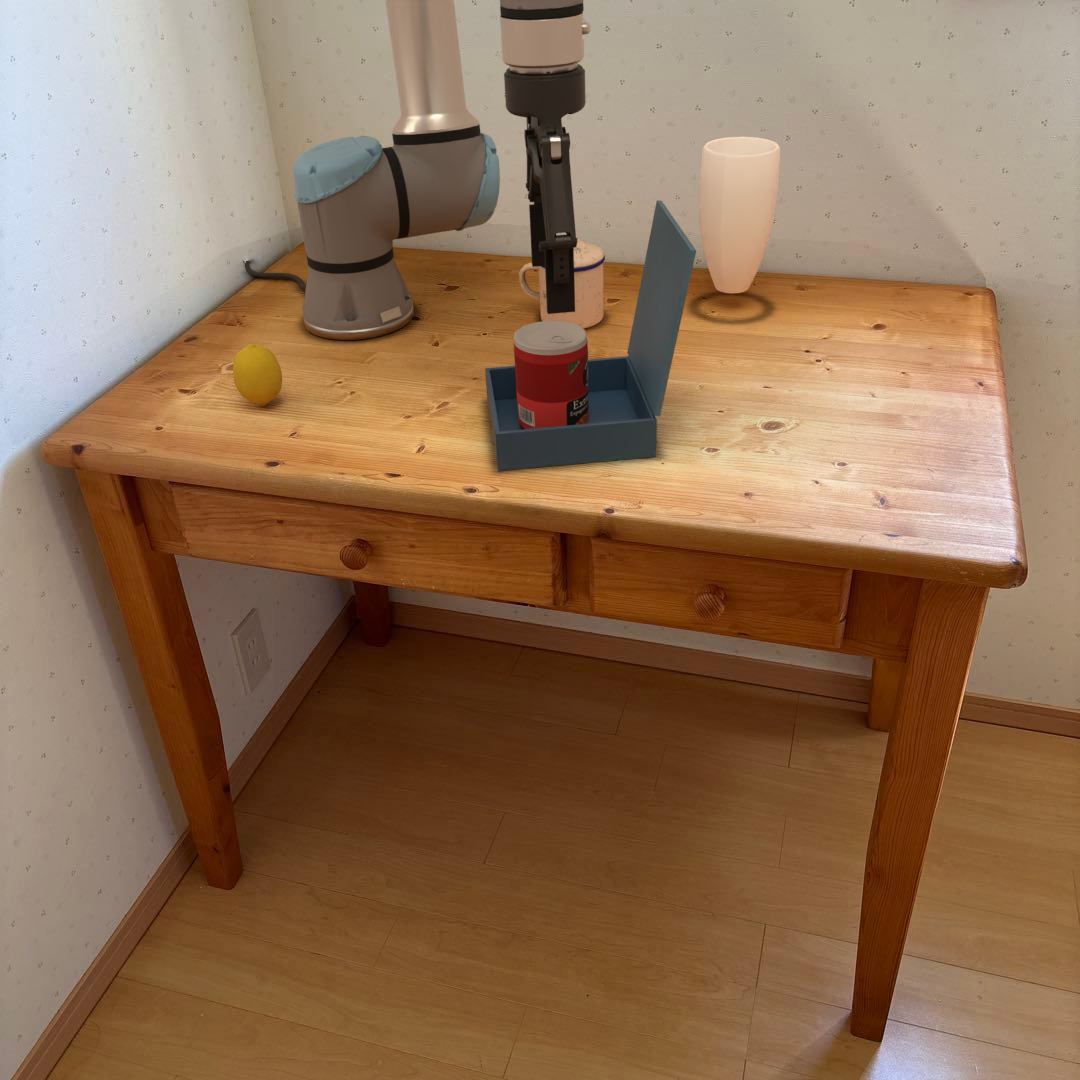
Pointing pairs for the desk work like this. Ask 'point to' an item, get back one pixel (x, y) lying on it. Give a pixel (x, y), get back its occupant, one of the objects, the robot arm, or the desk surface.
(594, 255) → the teacup with lid
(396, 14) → the robot arm
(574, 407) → the canned food
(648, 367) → the lunchbox lid
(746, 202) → the cup
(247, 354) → the lemon
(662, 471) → the desk surface
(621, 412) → the box
